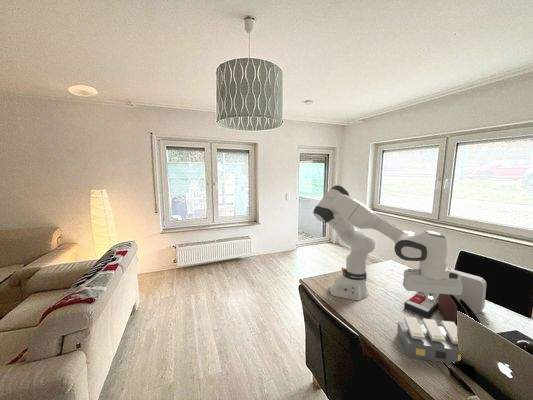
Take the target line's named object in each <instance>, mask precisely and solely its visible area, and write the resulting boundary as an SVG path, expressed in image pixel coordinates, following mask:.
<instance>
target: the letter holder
mask: <svg viewBox="0 0 533 400" xmlns="http://www.w3.org/2000/svg"><path fill="white" fill-rule="evenodd" d="M437 303H438V306H437V311H438V312H439V314H440V316H441V317H442V318H443V321H450V322H454V323H455V325H456V326H457V311H460V312H462V313H464V314H466V315H468V316H469V317H471V318H473V319H474V320H475V321H477V322H479V323H481V324H482V322H481V320H480V318H479V317H478V316H477V315H476V314H477V313H474V312H473V311H472V309H471V308H470V307H469V306H468V305H467V304H466V303H465V302H464V301H463V300H462V299H460V302H459V301H458V299H457V298H456V297H455V296H454V295H451V294H439V297H438V299H437Z"/></svg>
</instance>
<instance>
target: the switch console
mask: <svg viewBox="0 0 533 400" xmlns="http://www.w3.org/2000/svg"><path fill="white" fill-rule="evenodd" d="M419 325H420V327H421V330H422V332H423V334H424V336H425V339H424V340H421V339H414V338H412V337H411V335H410V332H409V330H408V327H407V325H406V323H405V321H404V322H403V321H397V330H396V331H397V336H398V338H399V340H400V342H401V345H402V347H403V349H404V351H405V353H406V355H407V357H408V358H411V359H413V358H414V359H420V360H427V361H434V362H438V363H439V362H441V363H445V364H451V363H450V362H457V361H460V360H461V353H460V350H459V348H458V344H453V343H452V342H451V340H450V338H449V336H448V335H447V333H446V331H445V330H444V328H443V326H438V327H439V329H440V330H441V332H442V334H443V336H444V338H445V339H446V340H445V342H437V341H432V340H431V338H430V336H429V334H428V332H427V330H426V328H425V326H424V324H423V323H422V324H420V323H419Z"/></svg>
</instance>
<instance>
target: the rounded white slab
mask: <svg viewBox="0 0 533 400" xmlns="http://www.w3.org/2000/svg"><path fill="white" fill-rule="evenodd" d="M454 270H455V271H457V272H458V273H459V274H460V275H461V278H460V280H461V282H462V293H461V294H460V295H454V296H455V297H456V298H457V299H458V301H459V302H460V299H462V300H463V301H464V302H465V303H466V304H467V305H468V306H469V307H470V308H471V309H472V311H473V312H474V313H475V314H480V313H482V311H483V310H484V309H485V304H486V303H485V302H486V296H487V295H486V293H487V281H486V280H485V279H484V278H483V277H481V276H478V275H474V274H471V273H467V272H463V271H459V270H456V269H454ZM420 293H422V294H423V295H424V293H423V292H420ZM433 294H434V293H429V295H428V296H430V297H432V295H433ZM438 297H439V296H438ZM438 297H437V299H436V300H438Z"/></svg>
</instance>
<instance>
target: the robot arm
mask: <svg viewBox="0 0 533 400" xmlns="http://www.w3.org/2000/svg"><path fill="white" fill-rule="evenodd" d="M312 213H313V215H314V217H315V218H316V220H318V221H319V222H321V223H327V224H328V225H329V226H330V227H331V228H332V229H333V230H334V231H335V232H336V233H337V235H338V236H339V239H340V240H341V242H343V243H344V244H345V245H346V246H348V247H350V253H349V254H348V255H347V256H346V257H345V258H346V259H345V261H346V263H345V264H346V267H343V266H342V267H341V272H342V274H339V275H338V276H337V277H335V278H334V280H333V283H331V284H329V292H331V293H330V294H331V295H332V296H333V297H339V298H343V299H347V300H348V299H349V300H354V301H361V300H362V299H365V298H367V297H368V296H369V292H368V288H367V277H368V276H367V273H368V272H367V270H366V269H367V268H366V267H367V259H368V255H369V254H370V253H372V252H373V251H374V249H375V248H376V241H375V239H374V238H372V237H371V236H370V235H368V234H367V233H364V232H363V231H361V230H364V229H365V230H366V229H368V230H369V229H371V230H375V231H377V232H380V233H381V234H382V235H384V236H386V237H387V238H389V239H390V240H392V241H393V242H394V243H395V244H394V248H393V249H394V250H393V251H394V253H395V254H396V256H397V257H398V258H400V259H401V260H402V261H403V260H404V261H407V262H408V261H409V262H418V264H419V265H418V268H407V269H405V270H404V271H403V282H402V286H403V288H404V289H405V290H406V291H408V292H417V293H421V292H423V293H424V294H423V293H422V294H423V296H424V297H425V298H426V301H427V302H434V303H435V301H436V300H438V299H437V297H438V296H439V294H451V295H460V294H461V293H462V282H461V280H460V278H461V275H460V274H459V273H458V272H457V271H458V270H456V269H454V268H452V267H450V266H447V262H446V260H447V256H448V241H447V238H446V237H445V236H444V235H443V234H442V233H440V232H439V231H433V230H426V229H425V230H423V231H421V232H419V233H415V232H414V231H410V230H407V229H403V228H400V227H398V226H396V225H395V224H392V222H390V221H388V220H386V219H385V218H383V217H381V216H380V215H379V214H377V213H376V212H374V211H373V210H372V209H371V208H369V207H368V206H367V205H365V204H364V203H363V202H361V201H359V200H358V199H355V198H353V197H351V196H350V194H349V191H348V190H347V189H346V188H345V187H344V186H342V185H337V184H335V185H334V186H332V187H331V188H330V189H329V191H327V192H326V193H325V195H323V196H322V198H321V199H320V200H319V202H318V203H317V205H316V206H314V209H313V211H312ZM357 228H358V229H361V230H358V229H357ZM455 270H456V271H455ZM429 293H434V294H433V295H432V297H431V296H428V295H429ZM436 302H437V301H436Z"/></svg>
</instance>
